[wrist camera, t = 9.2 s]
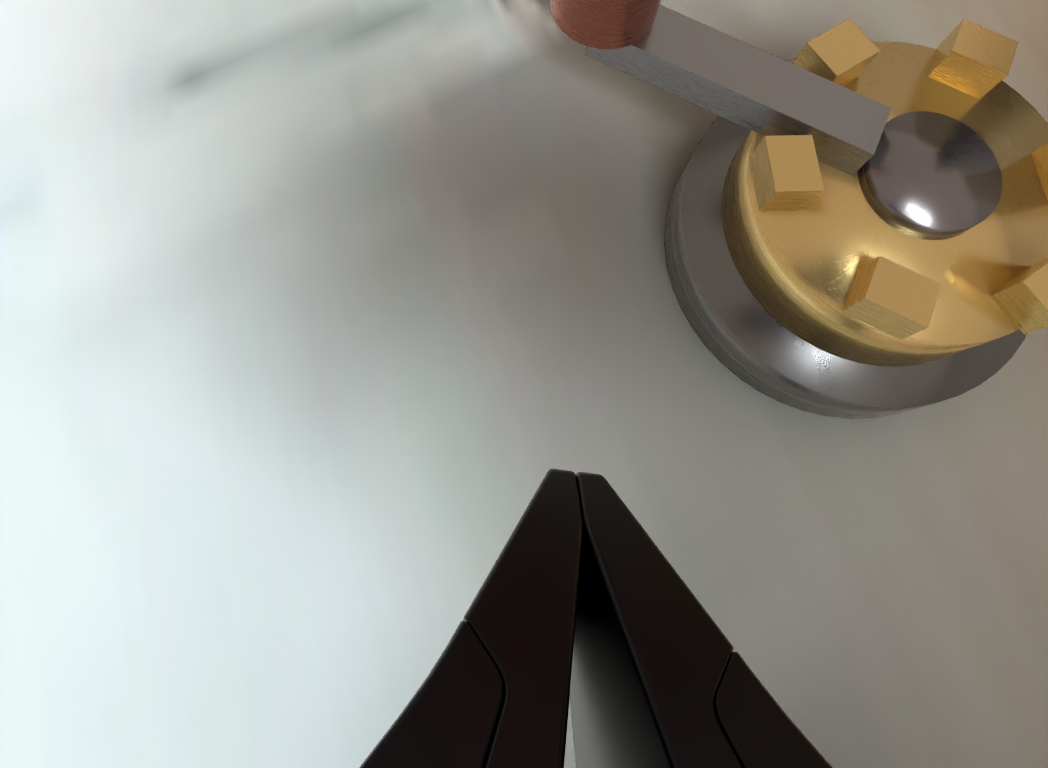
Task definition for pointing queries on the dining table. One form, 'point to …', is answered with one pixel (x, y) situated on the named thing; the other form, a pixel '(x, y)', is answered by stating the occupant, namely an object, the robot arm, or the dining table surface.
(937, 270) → the copper and gold mechanism
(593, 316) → the dining table surface
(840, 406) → the grey round base plate
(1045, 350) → the dining table surface
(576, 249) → the dining table surface
